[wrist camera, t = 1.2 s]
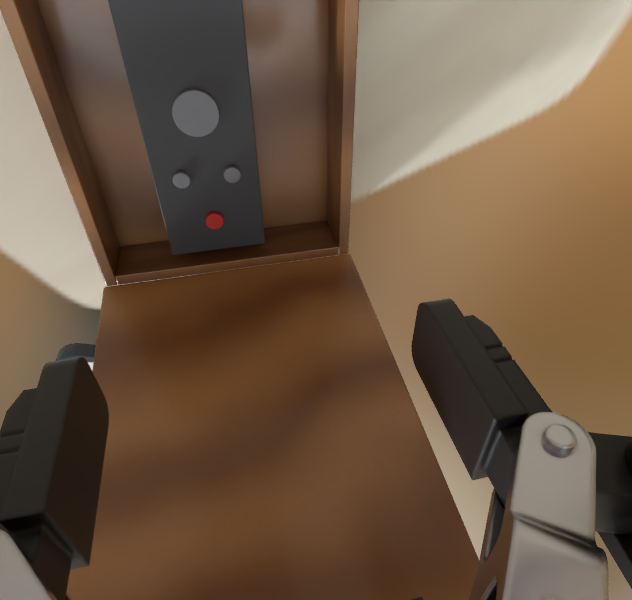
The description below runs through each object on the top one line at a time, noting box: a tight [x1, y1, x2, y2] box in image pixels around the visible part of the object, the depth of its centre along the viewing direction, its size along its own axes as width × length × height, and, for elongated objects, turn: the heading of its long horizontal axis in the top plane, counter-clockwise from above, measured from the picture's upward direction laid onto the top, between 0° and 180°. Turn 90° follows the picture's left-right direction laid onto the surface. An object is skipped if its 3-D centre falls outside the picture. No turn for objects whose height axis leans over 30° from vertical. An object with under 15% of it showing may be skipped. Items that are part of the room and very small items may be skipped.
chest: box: [0, 0, 359, 286], centre depth 22 cm, size 18×14×4 cm
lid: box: [67, 254, 479, 600], centre depth 22 cm, size 19×14×5 cm
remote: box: [108, 0, 265, 255], centre depth 22 cm, size 15×5×4 cm, turn 1°
